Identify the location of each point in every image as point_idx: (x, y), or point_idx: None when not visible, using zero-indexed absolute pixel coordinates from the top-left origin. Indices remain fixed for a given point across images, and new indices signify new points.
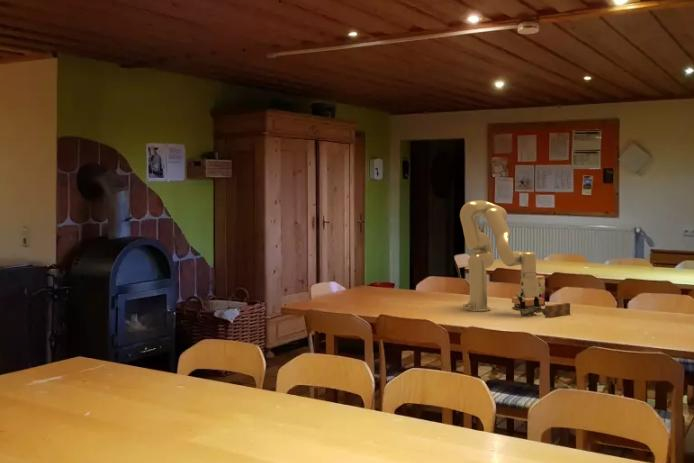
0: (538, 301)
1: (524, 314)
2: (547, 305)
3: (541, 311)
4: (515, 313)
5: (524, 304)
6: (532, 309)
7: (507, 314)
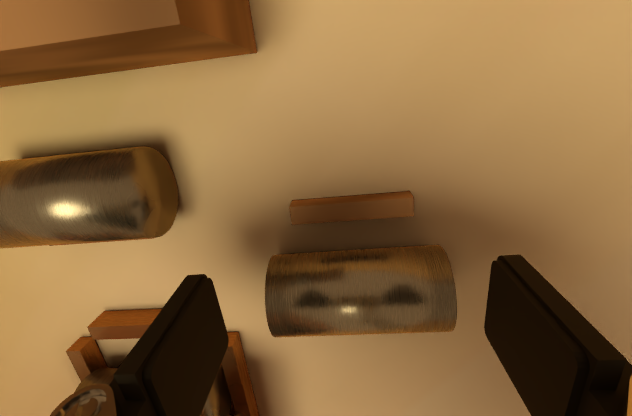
0: (153, 339)
1: (439, 246)
2: (103, 24)
3: (130, 314)
4: (402, 375)
5: (568, 306)
6: (291, 288)
7: (507, 377)
